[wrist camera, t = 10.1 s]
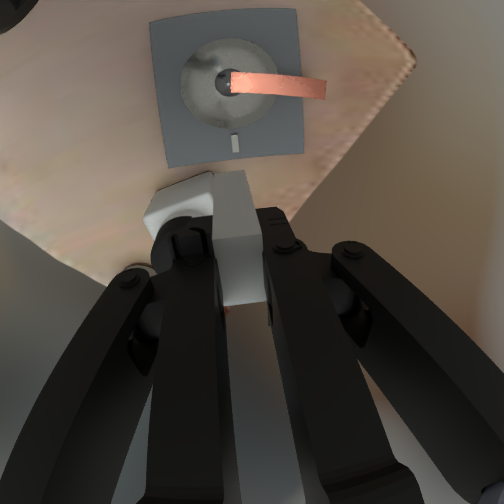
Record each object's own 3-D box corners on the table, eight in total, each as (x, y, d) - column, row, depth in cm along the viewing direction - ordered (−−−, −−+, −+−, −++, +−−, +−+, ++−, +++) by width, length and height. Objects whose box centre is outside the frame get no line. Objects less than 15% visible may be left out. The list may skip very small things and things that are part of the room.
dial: (182, 126, 29) (176, 134, 25) (184, 41, 24) (177, 34, 20) (306, 130, 31) (320, 138, 27) (313, 48, 25) (329, 43, 21)
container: (178, 240, 39) (166, 306, 28) (154, 191, 35) (127, 244, 24) (232, 222, 38) (238, 284, 27) (211, 169, 34) (207, 215, 23)
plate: (152, 24, 23) (147, 21, 21) (292, 11, 24) (297, 7, 22) (170, 164, 33) (167, 170, 31) (300, 150, 34) (306, 155, 32)
